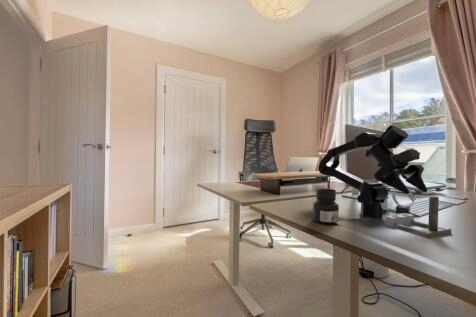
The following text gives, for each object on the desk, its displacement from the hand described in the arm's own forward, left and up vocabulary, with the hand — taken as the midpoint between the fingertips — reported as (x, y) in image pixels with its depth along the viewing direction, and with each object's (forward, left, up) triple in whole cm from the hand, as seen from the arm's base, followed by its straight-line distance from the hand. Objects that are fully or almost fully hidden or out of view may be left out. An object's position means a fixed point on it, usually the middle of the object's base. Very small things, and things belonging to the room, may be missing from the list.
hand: (417, 192), depth 73 cm
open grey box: (0, 0, -13) cm, 13 cm away
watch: (+7, +24, -13) cm, 29 cm away
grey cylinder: (+3, -4, -12) cm, 13 cm away
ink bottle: (-27, +4, -13) cm, 31 cm away
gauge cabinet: (-3, +4, -13) cm, 14 cm away
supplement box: (-3, +30, -13) cm, 33 cm away
